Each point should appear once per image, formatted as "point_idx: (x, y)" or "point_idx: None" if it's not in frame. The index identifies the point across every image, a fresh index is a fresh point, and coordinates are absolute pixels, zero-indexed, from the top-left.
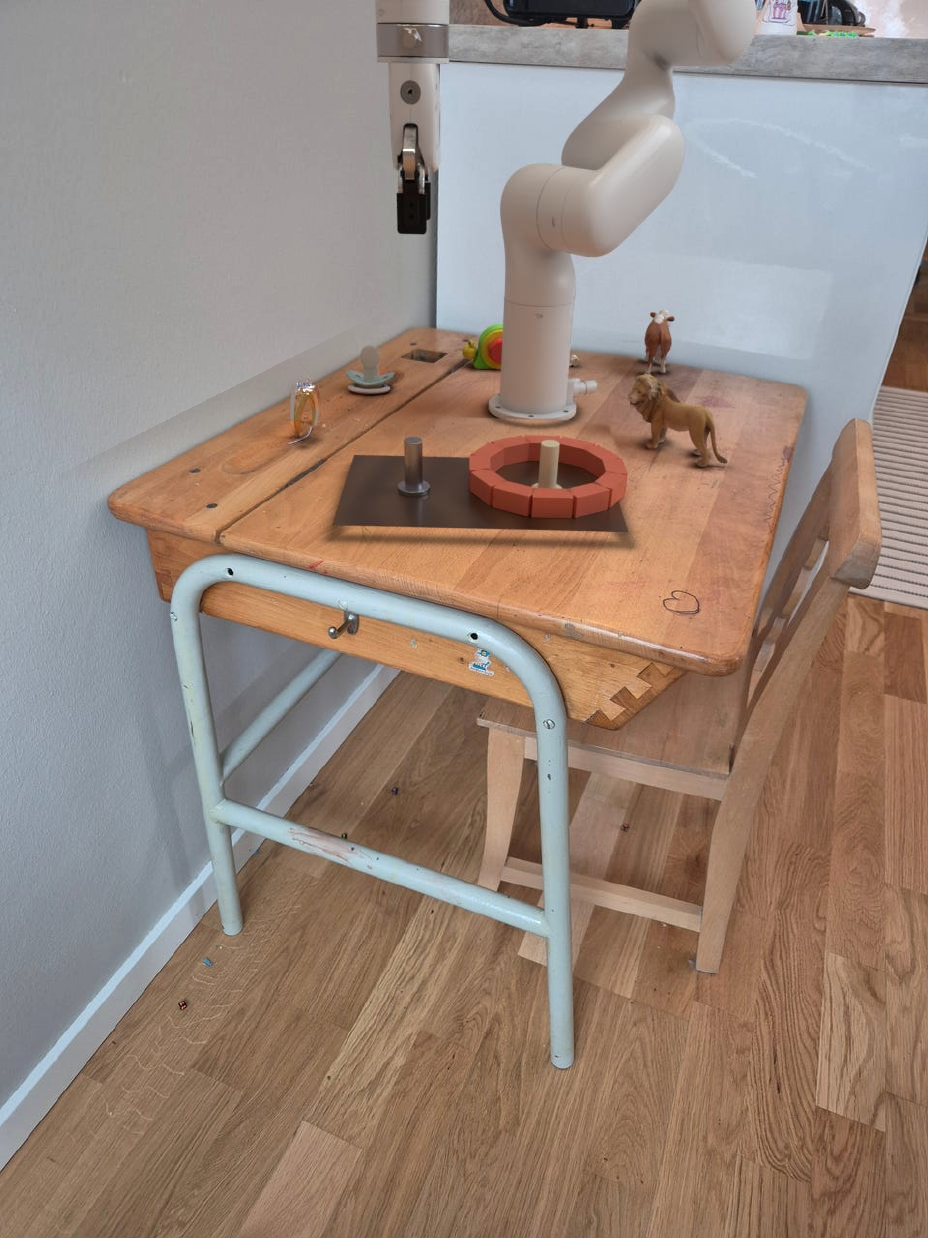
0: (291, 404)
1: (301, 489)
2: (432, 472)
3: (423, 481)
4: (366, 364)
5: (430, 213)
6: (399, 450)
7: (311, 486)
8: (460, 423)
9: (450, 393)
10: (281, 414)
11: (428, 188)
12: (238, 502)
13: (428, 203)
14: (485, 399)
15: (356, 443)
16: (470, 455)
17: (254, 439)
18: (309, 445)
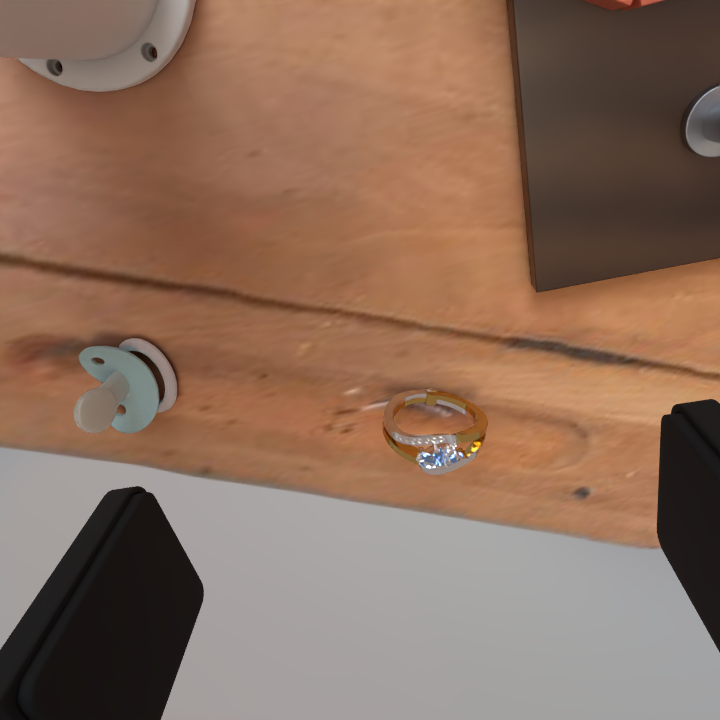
0: (480, 448)
1: (643, 336)
2: (617, 106)
3: (700, 105)
4: (113, 407)
5: (123, 505)
6: (437, 225)
7: (630, 325)
8: (245, 136)
9: (72, 211)
10: (324, 466)
11: (50, 664)
12: None
13: (106, 565)
14: (64, 115)
15: (421, 314)
16: (643, 2)
17: None
18: (450, 384)
